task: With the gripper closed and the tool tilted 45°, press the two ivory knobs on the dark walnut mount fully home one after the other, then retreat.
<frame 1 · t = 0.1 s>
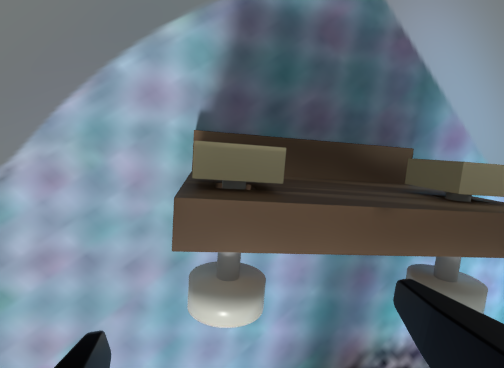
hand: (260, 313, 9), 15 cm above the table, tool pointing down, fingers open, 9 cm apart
knob 2: (231, 227, 15), point 9 cm above the table, slide at 0.0 cm
knob 1: (452, 234, 17), point 9 cm above the table, slide at 0.0 cm
knob mount: (299, 187, 25), on the table
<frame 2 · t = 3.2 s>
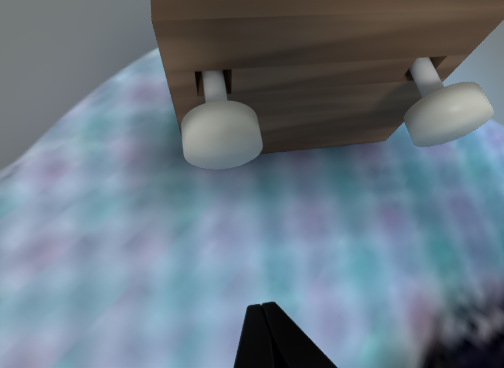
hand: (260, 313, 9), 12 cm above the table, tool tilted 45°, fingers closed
knob 2: (214, 85, 16), point 9 cm above the table, slide at 0.0 cm
knob 1: (422, 71, 18), point 9 cm above the table, slide at 0.0 cm
knob mount: (289, 140, 26), on the table
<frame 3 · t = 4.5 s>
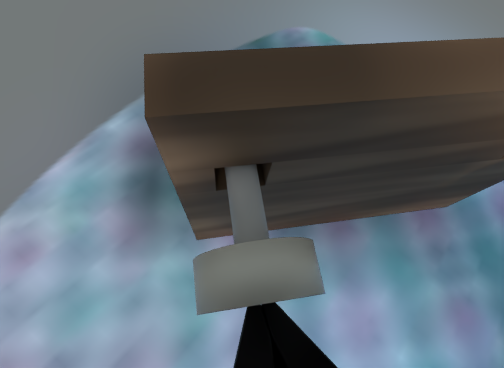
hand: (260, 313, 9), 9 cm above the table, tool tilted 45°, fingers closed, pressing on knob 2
knob 2: (242, 181, 11), point 9 cm above the table, slide at 0.0 cm, touching gripper
knob mount: (325, 208, 20), on the table
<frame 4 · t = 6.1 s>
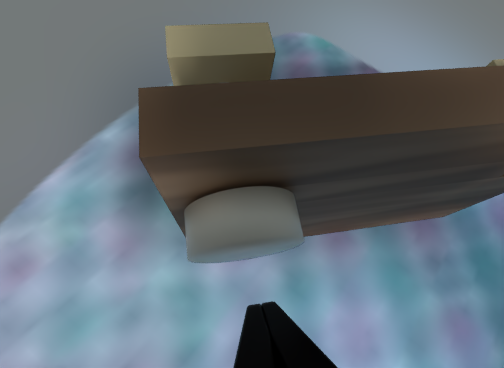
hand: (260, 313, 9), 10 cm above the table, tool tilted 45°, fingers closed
knob 2: (230, 144, 12), point 9 cm above the table, slide at 2.6 cm
knob mount: (323, 219, 20), on the table
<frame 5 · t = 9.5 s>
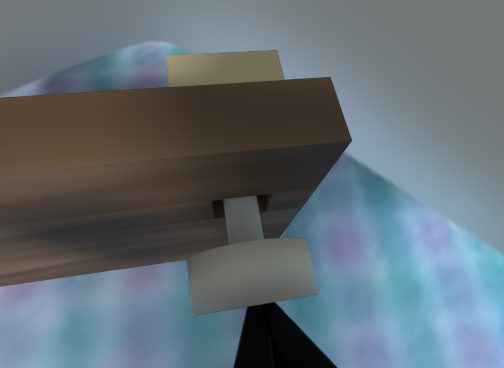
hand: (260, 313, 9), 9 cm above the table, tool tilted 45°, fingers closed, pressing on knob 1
knob 1: (237, 181, 11), point 9 cm above the table, slide at 1.2 cm, touching gripper
knob mount: (128, 251, 18), on the table
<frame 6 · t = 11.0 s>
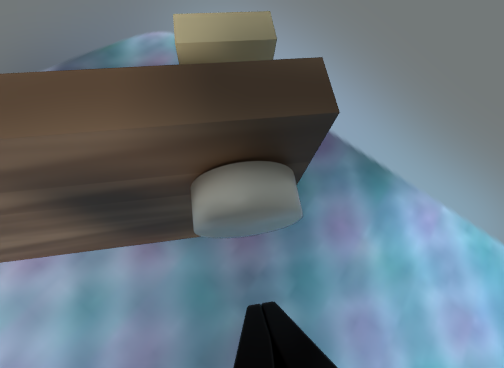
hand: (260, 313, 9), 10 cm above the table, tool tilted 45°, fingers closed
knob 1: (234, 127, 12), point 9 cm above the table, slide at 2.6 cm
knob mount: (136, 229, 19), on the table
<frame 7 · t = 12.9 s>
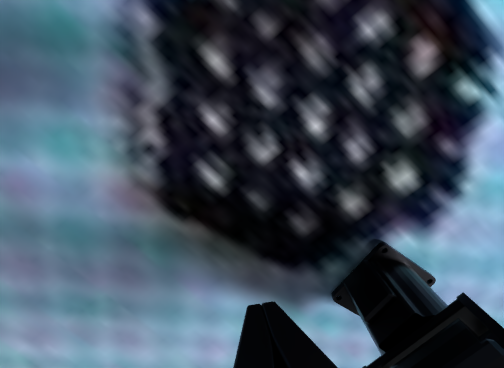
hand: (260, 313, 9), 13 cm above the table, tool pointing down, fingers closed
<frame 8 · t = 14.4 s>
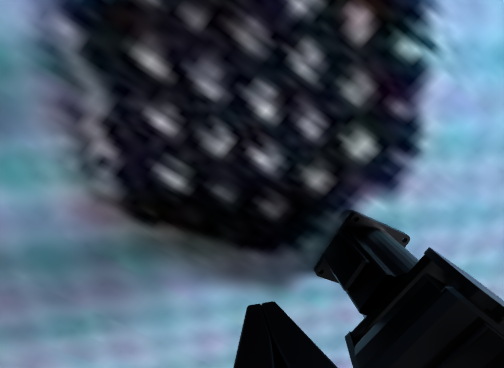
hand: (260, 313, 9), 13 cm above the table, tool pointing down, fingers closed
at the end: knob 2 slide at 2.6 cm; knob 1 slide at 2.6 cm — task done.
